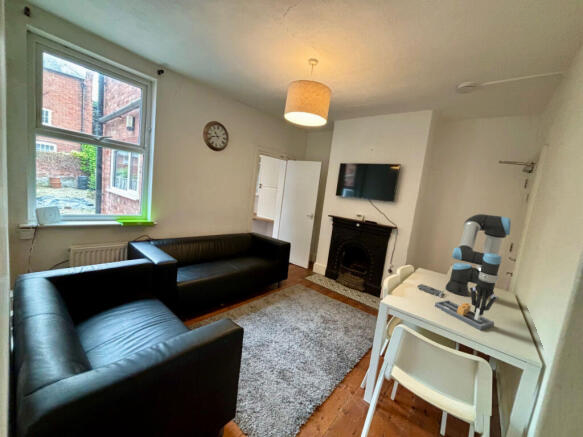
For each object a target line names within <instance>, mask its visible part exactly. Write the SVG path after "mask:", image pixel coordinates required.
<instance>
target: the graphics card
mask: <svg viewBox="0 0 583 437" xmlns="http://www.w3.org/2000/svg"><path fill="white" fill-rule="evenodd" d="M416 287H417V288H419V289H420V290H421V291H423V292H425V293H428V294H430V295H431V296H434V295H435V297H437V296H438V297H437V298H440V299H441V297H443V296H444V294H445V293H444V292H445V290H440V289H438V288H437V289H436V288H433V287H431V286H430V285H429V286H428V285H425V284H423V283H420V284H417V286H416Z"/></svg>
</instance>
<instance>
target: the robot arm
mask: <svg viewBox="0 0 583 437" xmlns="http://www.w3.org/2000/svg"><path fill="white" fill-rule="evenodd" d="M511 223H512V222H511V218H510V217H505V216H503V215H502V216H501V215H499V216H498V215H491V214H483V213H479V214H475V215H472V216H470V217H468V218H467V219H466V220H465V221H464V223H463V225H462V226H463V233H462V235H461V239H460V242H459V245H458V247H456V246H455V247H453V251H452V259H454V260H458V261H462V262H455V263H453V265H452V268H451V273H450V277H449V281H447V283H446V285H445V287H444V289H445V290H446V291H447V292H448V293H452V294H454V295H458V296H462V297H469V293H471V294H470V296H471V299H470V300H471V306H474V311H473V312H474V313H476V314H475V318H474V319H476V320H480V317H481V316H483V315H484V312H487V311H489V310H490V309H491V307H492V305H493V304H494V303H495V301H496V300H498V299H499V297H498V296H496V294H495V291H494V289H495V287H496V286H495V285H496V282H497V280H498V277H499V274H498V273H499V269H500V267H501V263H502V256H501V255H499V252H500V249H501V245H502V242H503V240H504V239H506V237H507V236H510V234H511ZM480 231H483V233H484V235H485V239H484V244H483V247H482V252H480V251H476V250H475V251H474V248H475V245H476V241H477V240H476V239H477V236H478V232H480ZM463 262H465V263H463ZM466 262H467V263H466ZM470 263H471V264H470ZM472 264H475V265H476V266H475V267H473V265H472ZM469 283H470V284H471V283H472V284H476V285H475V286H474V287H470V288H469ZM469 291H470V292H469ZM489 297H490V300H488V299H489ZM487 301H488V302H487Z"/></svg>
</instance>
